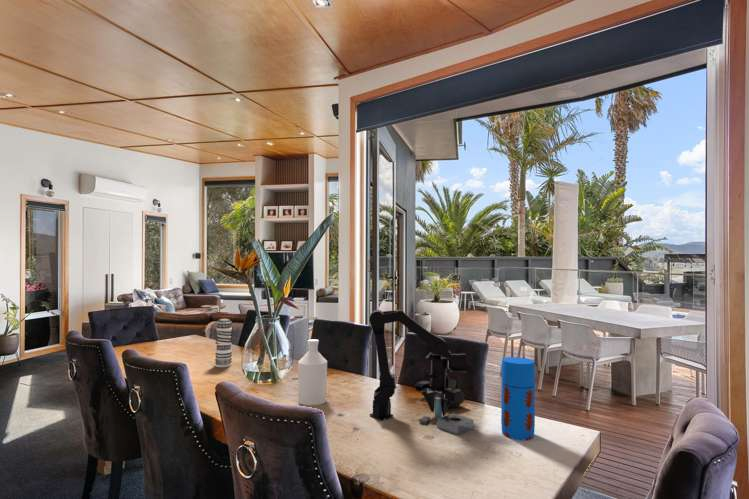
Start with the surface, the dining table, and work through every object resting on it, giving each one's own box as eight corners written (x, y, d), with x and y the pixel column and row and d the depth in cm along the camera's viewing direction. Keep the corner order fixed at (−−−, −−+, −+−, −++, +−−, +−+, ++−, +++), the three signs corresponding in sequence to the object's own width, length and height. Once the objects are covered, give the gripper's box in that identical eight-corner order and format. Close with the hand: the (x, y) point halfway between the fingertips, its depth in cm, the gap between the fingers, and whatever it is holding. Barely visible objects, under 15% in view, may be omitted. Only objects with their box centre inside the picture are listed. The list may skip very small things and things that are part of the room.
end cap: (446, 412, 176) (446, 394, 176) (433, 407, 181) (433, 390, 182) (464, 407, 181) (464, 390, 182) (451, 402, 187) (451, 386, 187)
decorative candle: (211, 366, 243) (212, 320, 243) (219, 362, 252) (220, 317, 252) (227, 367, 241) (227, 320, 242) (235, 363, 250) (236, 318, 251)
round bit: (438, 419, 167) (439, 400, 167) (433, 417, 169) (433, 398, 169) (443, 417, 169) (443, 399, 169) (437, 416, 171) (438, 397, 171)
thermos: (517, 442, 147) (518, 365, 147) (494, 431, 156) (495, 358, 157) (541, 437, 152) (542, 362, 152) (517, 426, 161) (518, 355, 162)
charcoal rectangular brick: (426, 425, 162) (426, 421, 162) (419, 424, 163) (419, 420, 163) (430, 421, 166) (430, 417, 166) (423, 420, 167) (423, 416, 167)
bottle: (307, 407, 179) (308, 344, 179) (292, 400, 188) (293, 339, 188) (332, 401, 186) (333, 340, 187) (316, 394, 195) (317, 336, 196)
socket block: (458, 435, 152) (458, 426, 153) (437, 427, 159) (437, 418, 159) (473, 428, 159) (473, 419, 159) (452, 421, 165) (452, 413, 165)
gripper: (472, 372, 168) (471, 415, 168) (433, 363, 182) (432, 403, 181) (453, 378, 160) (453, 422, 160) (414, 368, 174) (414, 409, 174)
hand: (438, 413), depth 169 cm, fingers open, 5 cm apart
